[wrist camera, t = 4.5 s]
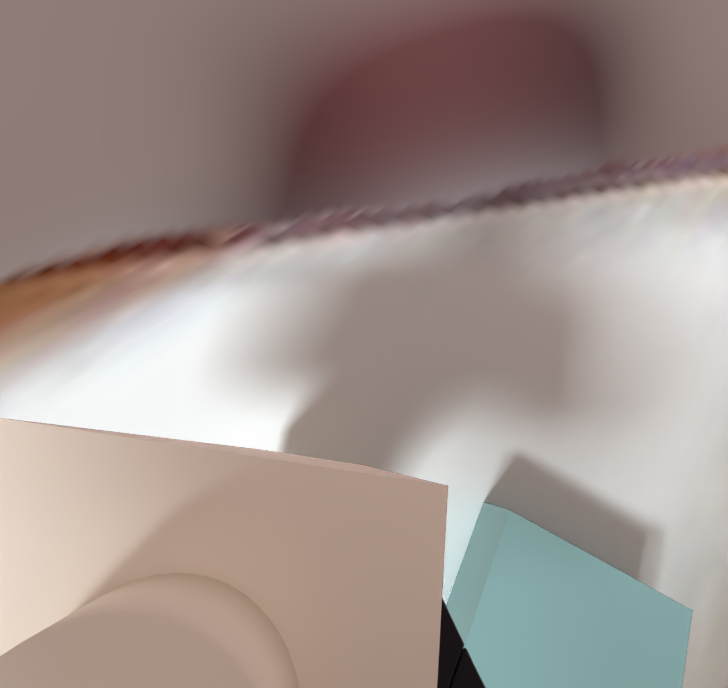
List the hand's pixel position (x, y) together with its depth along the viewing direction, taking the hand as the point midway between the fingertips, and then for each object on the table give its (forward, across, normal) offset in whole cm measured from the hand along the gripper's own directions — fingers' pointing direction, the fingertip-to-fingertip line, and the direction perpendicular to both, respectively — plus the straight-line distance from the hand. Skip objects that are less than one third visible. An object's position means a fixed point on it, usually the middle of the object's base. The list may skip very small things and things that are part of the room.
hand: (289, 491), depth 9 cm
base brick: (+2, -11, +10) cm, 15 cm away
